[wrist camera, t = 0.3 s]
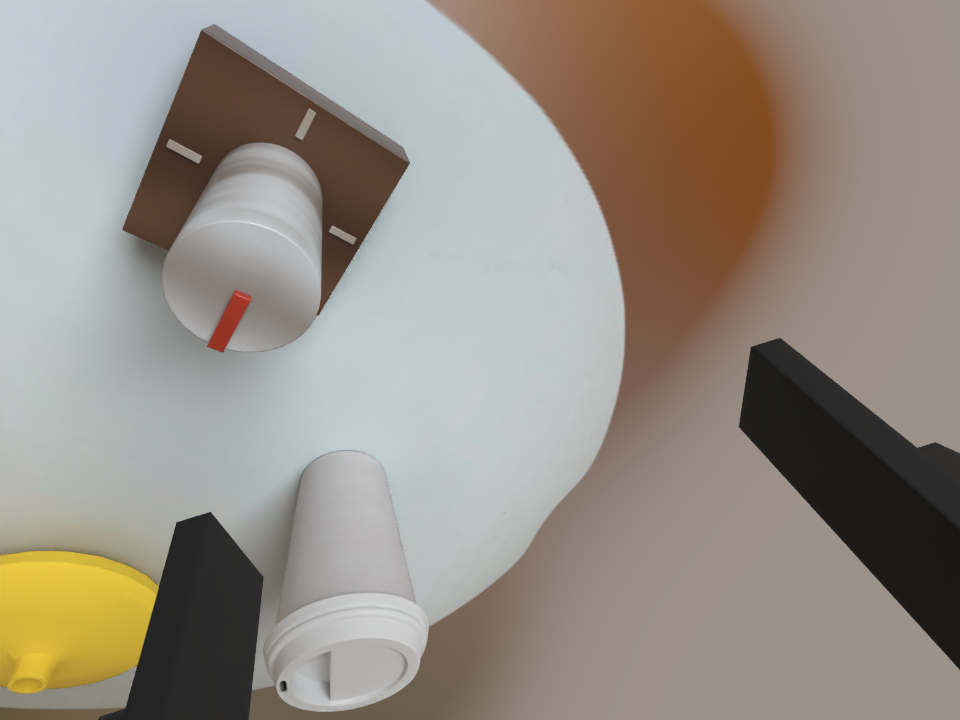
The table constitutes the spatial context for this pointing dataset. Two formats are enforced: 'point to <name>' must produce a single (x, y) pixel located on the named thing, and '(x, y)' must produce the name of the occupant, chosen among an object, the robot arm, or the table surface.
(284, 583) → the coffee cup
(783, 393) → the robot arm
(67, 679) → the yellow funnel lid
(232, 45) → the panel
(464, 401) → the table surface
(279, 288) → the tap knob
